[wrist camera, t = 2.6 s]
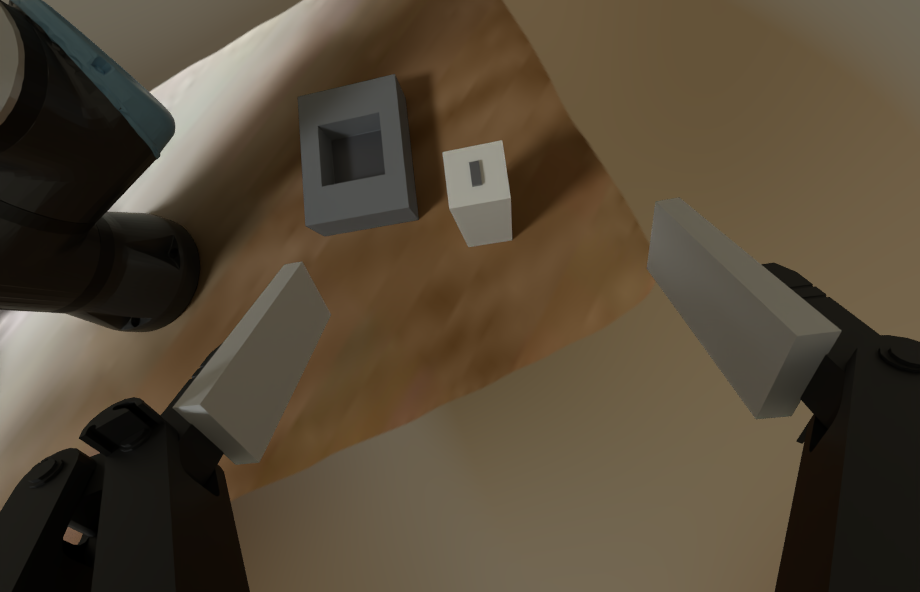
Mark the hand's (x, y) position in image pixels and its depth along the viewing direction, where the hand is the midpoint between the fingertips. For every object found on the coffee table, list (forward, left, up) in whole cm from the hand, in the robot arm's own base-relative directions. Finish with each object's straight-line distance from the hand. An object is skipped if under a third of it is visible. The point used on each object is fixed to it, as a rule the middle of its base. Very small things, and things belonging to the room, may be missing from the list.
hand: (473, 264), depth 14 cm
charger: (+9, +6, -26) cm, 28 cm away
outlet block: (+9, +23, -26) cm, 36 cm away
